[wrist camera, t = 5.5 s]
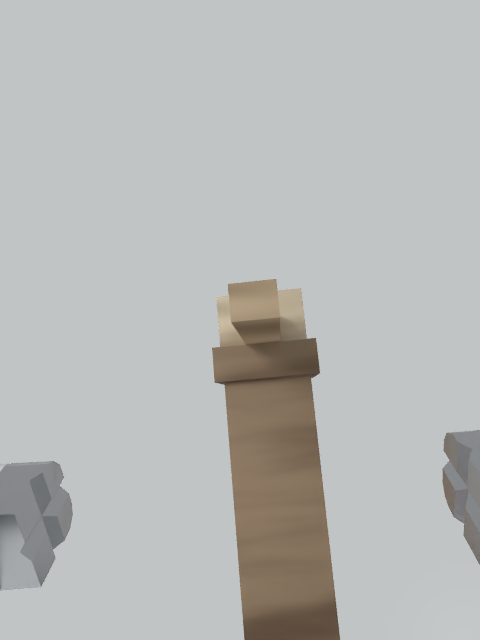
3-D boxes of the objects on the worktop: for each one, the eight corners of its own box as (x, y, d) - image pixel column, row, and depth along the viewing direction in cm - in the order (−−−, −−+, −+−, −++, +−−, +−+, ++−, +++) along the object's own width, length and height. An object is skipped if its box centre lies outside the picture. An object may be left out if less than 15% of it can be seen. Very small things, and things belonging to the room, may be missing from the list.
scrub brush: (317, 313, 18) (309, 242, 19) (194, 325, 19) (189, 255, 19) (301, 351, 33) (297, 310, 34) (233, 357, 33) (229, 317, 34)
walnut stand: (391, 893, 21) (325, 336, 26) (240, 894, 22) (202, 347, 26) (364, 771, 28) (316, 349, 32) (250, 773, 28) (218, 358, 33)
